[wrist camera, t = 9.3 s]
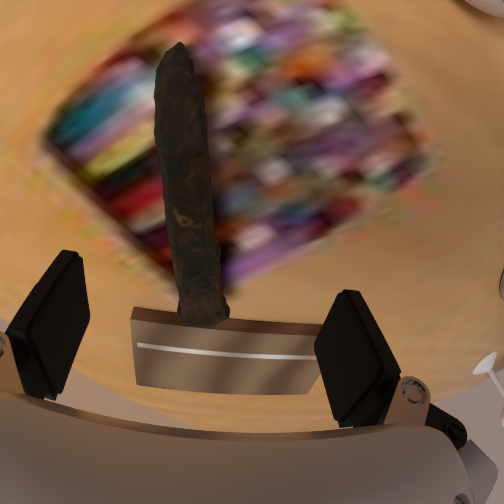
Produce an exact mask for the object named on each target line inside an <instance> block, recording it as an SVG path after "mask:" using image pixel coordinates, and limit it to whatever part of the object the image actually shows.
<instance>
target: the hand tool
mask: <svg viewBox="0 0 504 504" xmlns="http://www.w3.org/2000/svg"><path fill="white" fill-rule="evenodd" d="M154 100H155V127H154V136H155V143H156V146H157V147H158V148H159V161H160V169H161V177H162V183H163V198H164V204H165V217H166V224H167V230H168V237H169V244H170V250H171V256H172V262H173V269H174V274H175V279H176V284H177V289H178V292H179V298H180V300H179V302H178V304H179V305H178V309H177V316H178V318H179V321H180V323H181V324H182V325H184V326H187V327H196V328H198V327H202V328H205V329H207V328H210V327H213V326H214V325H216V324H218V323H220V322H222V321H224V320H227V319H229V316H230V308H229V306H228V304H227V303H226V299H225V297H224V295H223V287H224V286H223V283H222V282H221V281H220V277H221V276H220V255H221V247H220V244H219V242H218V239H217V237H216V227H215V219H214V210H213V201H212V191H211V180H210V166H209V156H208V144H207V122H206V115H205V111H204V100H203V94H202V90H201V86H200V78H199V75H196V72H195V69H194V65H193V61H192V60H191V59H190V57H189V54H188V52H187V50H186V48H185V46H184V45H183V44H182V43H181V42H178V43H177V44H176V45H175V46H174V47H172V48H171V49H169V50H168V51H166V52H165V55H164V57H163V59H162V60H161V62H160V64H159V65H158V67H157V69H156V79H155V91H154Z"/></svg>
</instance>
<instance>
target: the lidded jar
mask: <svg viewBox="0 0 504 504" xmlns="http://www.w3.org/2000/svg"><path fill="white" fill-rule="evenodd" d="M464 1H466V2H467V3H468V4H470V5H471V6H473V7H475V8H477V9H478V10H480V11H482V12H485V13H487V14H489V15H492V16H495V17H499V18H502V19H504V0H464Z"/></svg>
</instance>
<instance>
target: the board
mask: <svg viewBox="0 0 504 504" xmlns="http://www.w3.org/2000/svg"><path fill="white" fill-rule="evenodd" d="M130 321H131V335H132V347H133V357H134V366H135V375H136V383H137V385H141V386H148V387H155V388H163V389H172V390H181V391H192V392H204V393H219V394H242V395H298V394H308V392H309V391H310V389H311V387H312V386H313V384H314V383H315V381H316V380H317V378H318V377H319V375H320V373H321V372H320V369H319V365H318V362H317V358H316V355H315V352H314V342H315V340H316V338H317V336H318V334H319V332H320V330H321V328H322V326H323V325H312V324H293V323H277V322H263V321H250V320H238V319H227V320H224V321H222V322H220V323H218V324H216V325H214V326H213V327H210V328H207V329H205V328H202V327H198V328H196V327H187V326H184V325H182V324H181V323H180V321H179V318H178V316H177V313H172V312H165V311H157V310H150V309H143V308H136V307H134V308H133V311H132V315H131V319H130Z"/></svg>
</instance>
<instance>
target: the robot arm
mask: <svg viewBox="0 0 504 504" xmlns="http://www.w3.org/2000/svg"><path fill="white" fill-rule="evenodd" d="M500 295H501V297H502V298H503V300H504V273H503V276H502V280H501V284H500ZM89 320H90V310H89V304H88V297H87V290H86V283H85V275H84V266H83V259H82V257H80V256H79V254H78V252H75V251H69V250H62V251H61V252H60V253H59V255H58V256H57V257H56V258H55V260H54V261H53V262H52V264H51V265H50V266H49V268H48V269H47V271H46V272H45V273H44V275H43V276H42V277H41V279H40V280H39V282H38V283H37V284H36V285H35V286H34V288H33V289H32V291H31V292H30V294H29V295H28V297H27V298H26V300H25V301H24V303H23V304H22V306H21V307H20V309H19V310H18V312H17V313H16V315H15V317H14V318H13V320H12V321H11V323H10V325H9V326H8V328H7V330H6V332H5V333H3V332H1V331H0V504H485V502H486V500H487V498H488V496H489V494H490V493H491V491H492V489H493V487H494V484H495V482H496V480H497V477H498V470H497V467H496V465H495V464H494V462H493V461H492V460H491V459H490V458H489V457H488V456H487V455H486V454H485V453H484V452H483V451H482V450H481V449H480V448H479V447H478V446H477V445H476V444H475V443H474V442H473V441H472V440H471V439H470V440H468V441H467V432H466V429H465V427H464V425H463V424H462V423H461V422H460V421H459V420H458V419H456V418H454V417H453V416H451V415H449V414H448V413H446V412H444V411H443V410H441V409H439V408H438V407H436V406H434V405H433V404H431V403H430V392H429V389H428V388H427V386H426V385H425V384H424V383H423V382H422V381H421V380H419V379H418V378H415V377H413V376H406V377H403V378H401V377H400V375H399V374H400V373H401V370H400V368H399V365H398V363H397V361H396V359H395V357H394V355H393V353H392V351H391V349H390V347H389V346H388V344H387V342H386V340H385V338H384V336H383V334H382V332H381V330H380V328H379V326H378V324H377V322H376V321H375V319H374V317H373V315H372V313H371V311H370V309H369V308H368V306H367V304H366V302H365V300H364V299H363V297H362V295H361V293H360V292H359V291H356V290H347V289H345V290H343V291H342V293H339V294H338V295H337V297H336V299H335V301H334V303H333V305H332V307H331V309H330V311H329V313H328V316H327V318H326V320H325V322H324V324H323V326H322V328H321V330H320V332H319V334H318V336H317V338H316V340H315V342H314V352H315V355H316V358H317V362H318V365H319V369H320V372H321V375H322V379H323V382H324V386H325V389H326V393H327V396H328V400H329V403H330V407H331V410H332V414H333V417H334V419H335V420H336V421H338V424H339V427H340V428H344V427H352V426H353V428H347V429H336V430H325V431H312V432H292V433H237V432H217V431H203V430H192V429H182V428H174V427H166V426H159V425H152V424H145V423H139V422H134V421H128V420H123V419H118V418H113V417H108V416H104V415H99V414H95V413H91V412H87V411H83V410H79V409H75V408H71V407H67V406H64V405H60V404H57V403H53V402H50V401H47V400H44V398H48V399H51V400H54V401H55V400H56V397H57V394H61V393H62V391H63V389H64V386H65V383H66V380H67V377H68V375H69V372H70V369H71V366H72V364H73V361H74V358H75V356H76V353H77V351H78V348H79V345H80V343H81V340H82V338H83V336H84V333H85V331H86V328H87V326H88V324H89Z"/></svg>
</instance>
